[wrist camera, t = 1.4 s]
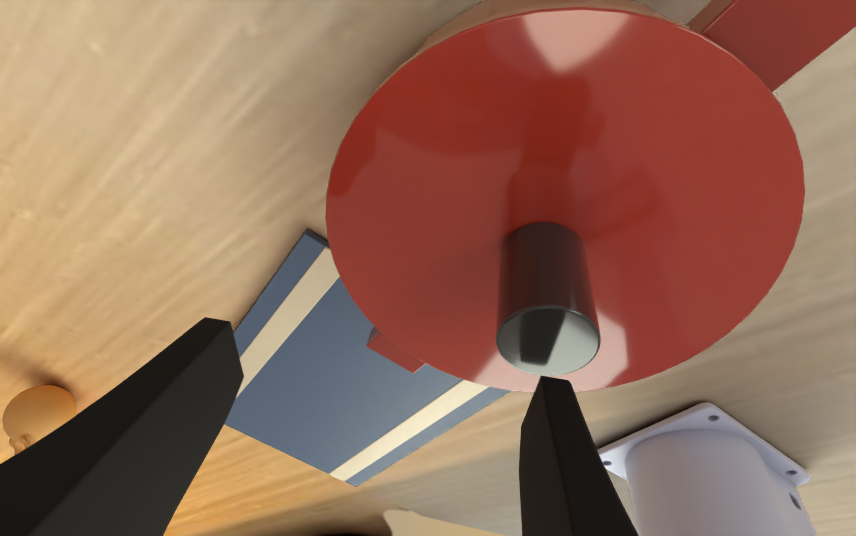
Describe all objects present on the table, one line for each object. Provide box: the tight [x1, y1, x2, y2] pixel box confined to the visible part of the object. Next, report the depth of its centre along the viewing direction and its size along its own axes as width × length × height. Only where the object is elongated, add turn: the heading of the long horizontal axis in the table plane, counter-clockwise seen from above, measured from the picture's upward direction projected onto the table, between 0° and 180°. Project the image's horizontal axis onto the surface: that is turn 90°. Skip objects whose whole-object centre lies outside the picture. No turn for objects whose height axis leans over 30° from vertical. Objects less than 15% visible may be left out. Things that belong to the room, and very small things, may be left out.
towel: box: [224, 229, 512, 487], centre depth 29 cm, size 14×19×1 cm
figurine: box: [3, 385, 77, 455], centre depth 31 cm, size 8×6×12 cm
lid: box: [326, 3, 805, 393], centre depth 13 cm, size 13×13×4 cm
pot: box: [366, 0, 856, 373], centre depth 16 cm, size 12×17×5 cm
